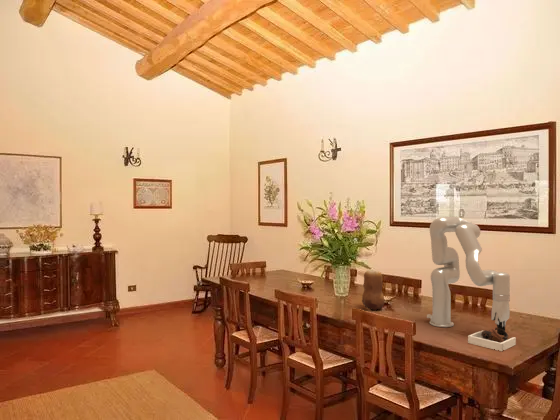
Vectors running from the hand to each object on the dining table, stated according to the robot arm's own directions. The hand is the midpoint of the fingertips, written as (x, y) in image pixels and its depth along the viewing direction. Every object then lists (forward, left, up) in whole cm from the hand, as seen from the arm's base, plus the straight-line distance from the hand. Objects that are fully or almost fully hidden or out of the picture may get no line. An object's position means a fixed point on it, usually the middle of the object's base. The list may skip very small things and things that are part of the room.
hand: (501, 334), depth 220 cm
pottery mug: (0, -7, -3) cm, 8 cm away
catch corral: (0, -9, -3) cm, 9 cm away
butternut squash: (-81, +2, -3) cm, 81 cm away
